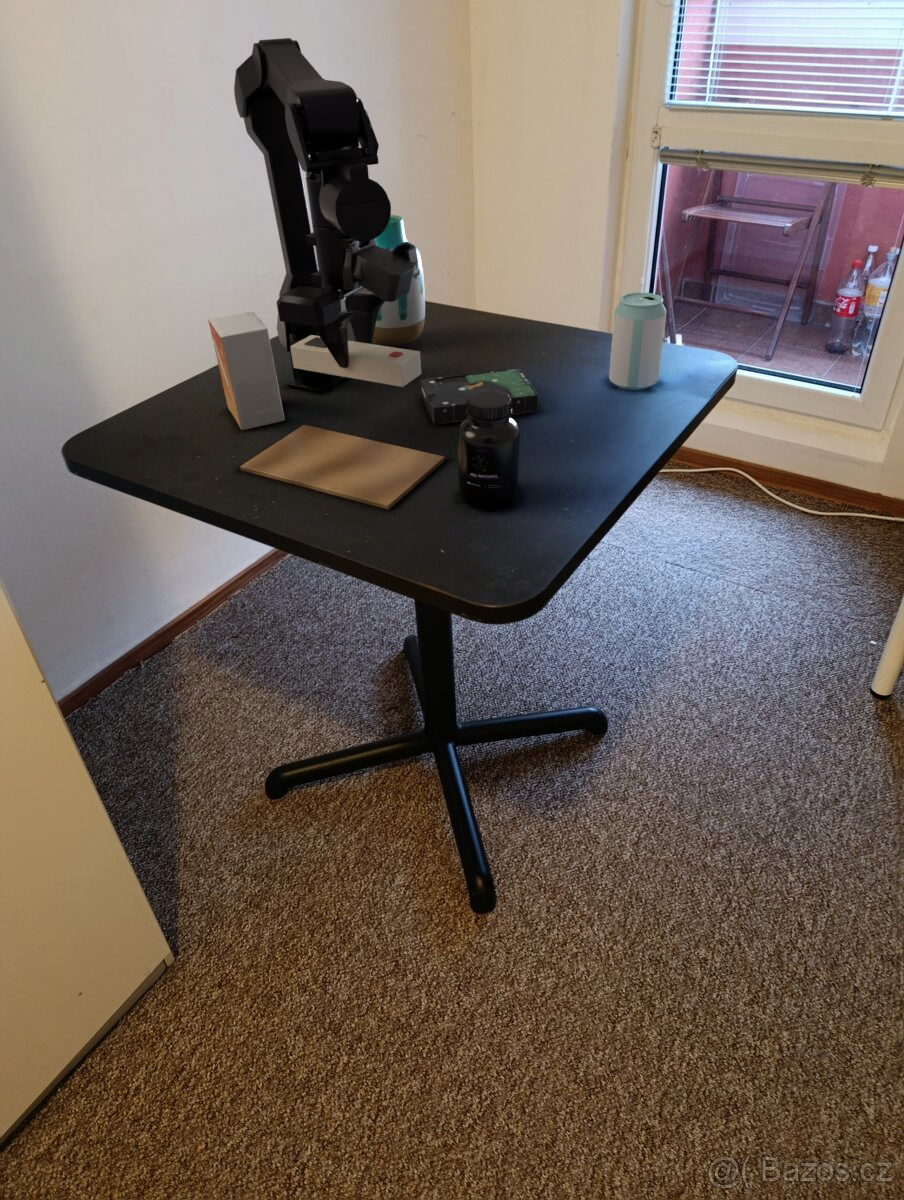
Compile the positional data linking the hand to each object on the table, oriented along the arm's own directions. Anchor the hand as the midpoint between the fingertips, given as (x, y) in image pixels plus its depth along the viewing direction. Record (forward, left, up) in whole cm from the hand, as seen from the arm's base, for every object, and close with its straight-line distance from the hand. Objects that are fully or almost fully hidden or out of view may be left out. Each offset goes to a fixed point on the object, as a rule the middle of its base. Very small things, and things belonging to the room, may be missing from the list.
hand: (354, 360), depth 98 cm
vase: (-16, +33, -11) cm, 39 cm away
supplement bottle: (+21, -5, -11) cm, 24 cm away
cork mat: (+1, -6, -11) cm, 13 cm away
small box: (-19, +1, -11) cm, 22 cm away
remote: (0, 0, -1) cm, 1 cm away
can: (+25, +33, -11) cm, 43 cm away
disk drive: (+8, +17, -11) cm, 22 cm away
